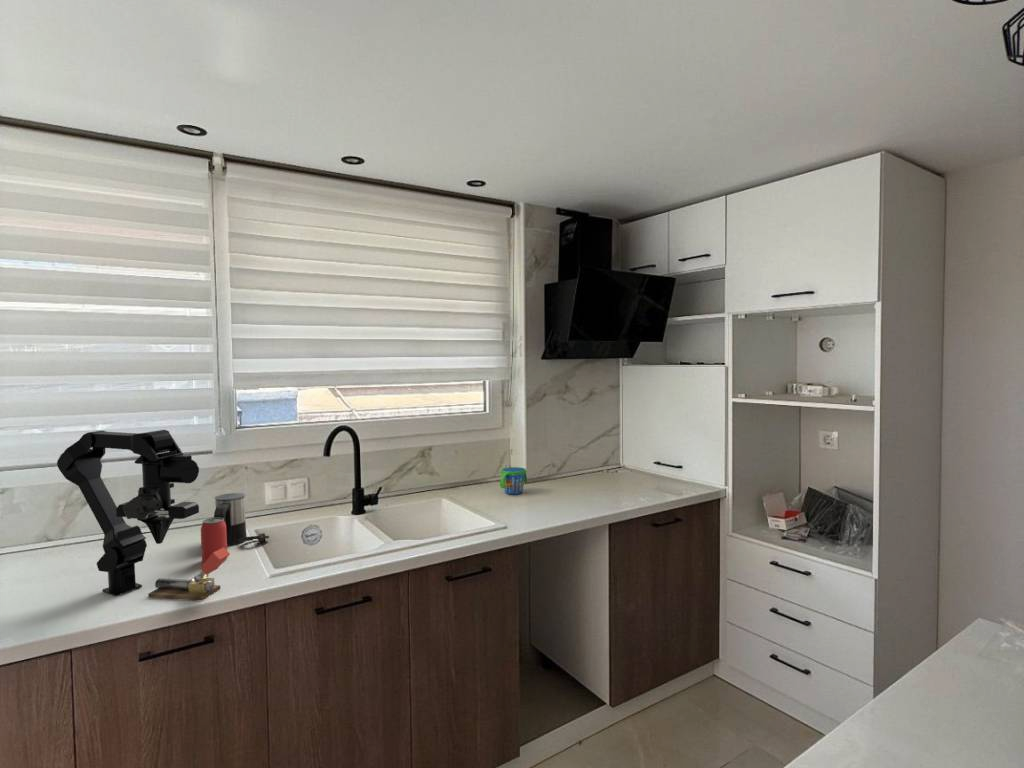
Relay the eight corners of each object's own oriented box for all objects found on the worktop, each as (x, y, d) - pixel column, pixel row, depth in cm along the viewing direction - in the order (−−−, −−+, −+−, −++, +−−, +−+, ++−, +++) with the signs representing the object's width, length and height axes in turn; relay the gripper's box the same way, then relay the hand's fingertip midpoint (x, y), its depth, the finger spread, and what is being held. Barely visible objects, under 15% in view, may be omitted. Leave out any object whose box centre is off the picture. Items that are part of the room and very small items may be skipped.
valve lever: (190, 578, 141) (213, 552, 140) (201, 572, 145) (223, 547, 144) (197, 585, 141) (219, 559, 140) (208, 579, 145) (230, 553, 144)
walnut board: (148, 597, 142) (148, 593, 142) (169, 586, 149) (169, 582, 148) (201, 600, 139) (201, 596, 139) (220, 589, 146) (220, 585, 146)
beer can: (221, 555, 171) (219, 515, 171) (231, 559, 167) (229, 519, 166) (198, 561, 166) (196, 520, 166) (208, 566, 162) (206, 524, 161)
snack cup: (518, 487, 252) (517, 464, 252) (535, 491, 245) (535, 468, 244) (491, 494, 241) (491, 470, 241) (509, 498, 234) (509, 473, 233)
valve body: (152, 592, 143) (152, 580, 143) (164, 585, 147) (164, 574, 147) (205, 595, 141) (205, 583, 141) (216, 588, 145) (215, 577, 145)
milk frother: (217, 538, 187) (215, 493, 186) (269, 532, 193) (268, 489, 192) (212, 552, 173) (210, 504, 173) (269, 545, 179) (267, 499, 179)
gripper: (95, 488, 135) (98, 553, 136) (166, 490, 133) (169, 556, 133) (133, 477, 146) (135, 538, 147) (199, 479, 144) (201, 540, 144)
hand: (159, 543), depth 143 cm, fingers closed
